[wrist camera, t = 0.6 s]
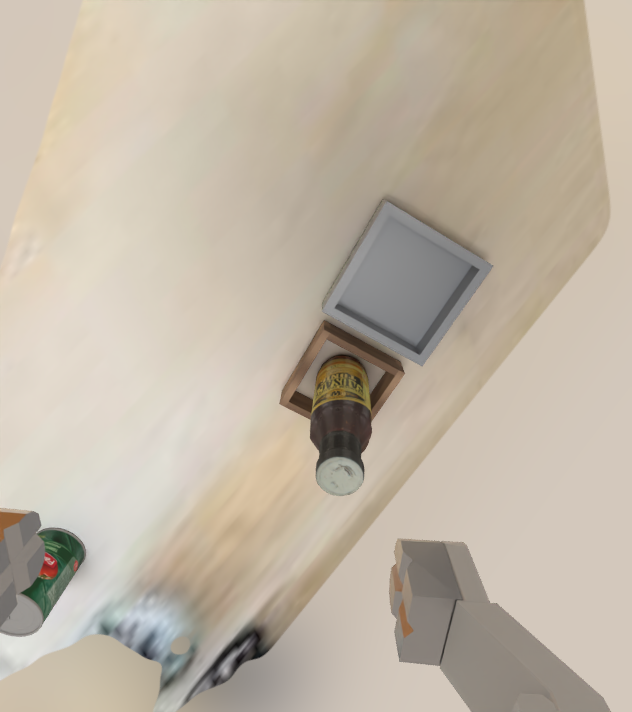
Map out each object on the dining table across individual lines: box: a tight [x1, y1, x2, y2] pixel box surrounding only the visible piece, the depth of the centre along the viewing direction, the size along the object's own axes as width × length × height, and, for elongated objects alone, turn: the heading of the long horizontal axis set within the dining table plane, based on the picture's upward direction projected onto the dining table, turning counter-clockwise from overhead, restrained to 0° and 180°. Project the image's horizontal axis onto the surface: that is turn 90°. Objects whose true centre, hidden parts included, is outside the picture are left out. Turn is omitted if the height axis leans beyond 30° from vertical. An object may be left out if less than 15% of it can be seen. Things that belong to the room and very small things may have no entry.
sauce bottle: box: [310, 356, 372, 496], centre depth 46 cm, size 7×6×20 cm
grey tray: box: [322, 199, 493, 366], centre depth 49 cm, size 13×13×4 cm
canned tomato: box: [0, 528, 86, 637], centre depth 62 cm, size 8×8×11 cm
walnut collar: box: [279, 320, 405, 420], centre depth 54 cm, size 11×11×4 cm
